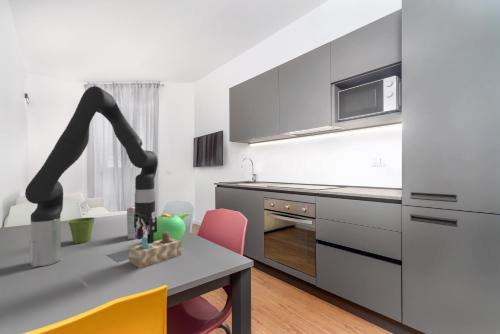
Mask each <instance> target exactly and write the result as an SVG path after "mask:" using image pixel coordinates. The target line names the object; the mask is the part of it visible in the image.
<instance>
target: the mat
mask: <svg viewBox="0 0 500 334" xmlns="http://www.w3.org/2000/svg"><path fill="white" fill-rule="evenodd" d="M105 256H106V257H108V258H110V259H112V260H113V261H114V262H117V263H119V262H124V261H127V260H129V248H128V249H124V250H120V251H115V252H112V253H109V254H105Z"/></svg>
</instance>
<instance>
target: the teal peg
mask: <svg viewBox="0 0 500 334" xmlns="http://www.w3.org/2000/svg"><path fill="white" fill-rule="evenodd" d="M141 245H142V250H144V249H148V248H150V244H148V243H147V235H145V236H144V235H143V237H142V239H141Z"/></svg>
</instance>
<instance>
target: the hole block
mask: <svg viewBox="0 0 500 334" xmlns="http://www.w3.org/2000/svg"><path fill="white" fill-rule="evenodd" d="M128 249H129V259H128V262H129V263H130V264H132V265H133V266H136V267H137V268H139V269H141V268H145V267H147V266H150V265H153V264H154V265H155V264H157V263H160V262H163V261H165V260H169V259H173V258H175V257H178V256H182V241H181V240H180V239H178V240H176V239H173V238H170V243H166V244H163V243H162V239H161V240H157V241H156V240H154V242H153V243H151V244H150V248H148V249H144V250H142V244H138V245H135V246H131V247H128Z"/></svg>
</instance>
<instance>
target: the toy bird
mask: <svg viewBox="0 0 500 334" xmlns="http://www.w3.org/2000/svg"><path fill="white" fill-rule="evenodd" d="M190 214H191V213H189V212H187V213H182V214H179V215H178V214H177V215H175V214H171V213H161V214H160V215H158V216H156V217H157V232H155V233H154V241H157V240H161V239H162V232H166V231H168V232H170V238H173V239H176V240H180V239H181V238H182V237H183V236H184V234H185V232H186V224H185V222H184V219H185V218H187V217H188V216H190ZM153 228H154V227H153ZM149 231H150V229H149Z"/></svg>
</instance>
